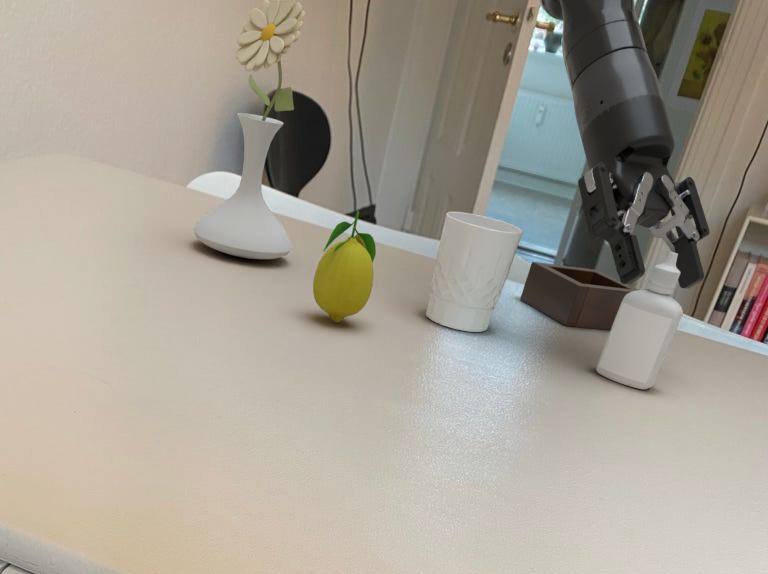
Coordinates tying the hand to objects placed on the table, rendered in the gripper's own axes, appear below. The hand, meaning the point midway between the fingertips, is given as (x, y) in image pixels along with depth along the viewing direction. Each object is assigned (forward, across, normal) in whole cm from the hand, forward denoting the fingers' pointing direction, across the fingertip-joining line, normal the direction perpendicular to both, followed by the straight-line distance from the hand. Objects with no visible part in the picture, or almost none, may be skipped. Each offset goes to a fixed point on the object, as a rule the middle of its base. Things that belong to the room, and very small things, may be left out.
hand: (664, 282), depth 84 cm
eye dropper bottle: (+7, 0, +7) cm, 10 cm away
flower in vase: (-20, -23, +34) cm, 46 cm away
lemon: (-4, -25, +18) cm, 31 cm away
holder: (-8, +14, +21) cm, 27 cm away
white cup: (-5, -8, +19) cm, 21 cm away
